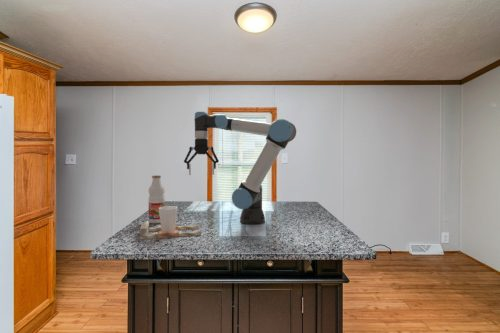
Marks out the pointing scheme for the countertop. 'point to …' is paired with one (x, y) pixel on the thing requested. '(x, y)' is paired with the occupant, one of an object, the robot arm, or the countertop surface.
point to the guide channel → (145, 230)
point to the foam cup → (168, 218)
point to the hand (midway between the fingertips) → (201, 174)
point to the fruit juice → (156, 199)
